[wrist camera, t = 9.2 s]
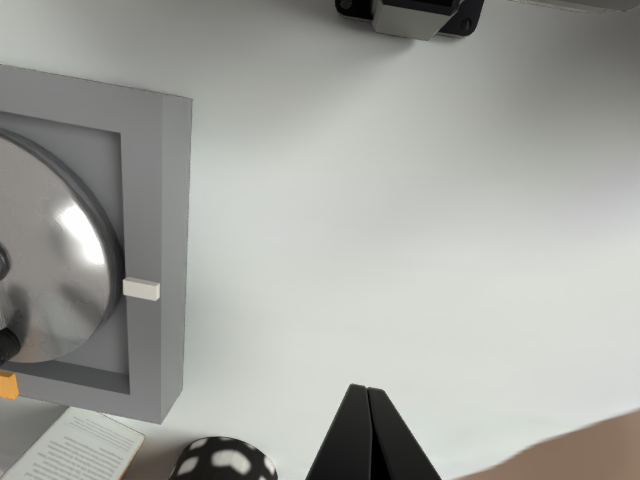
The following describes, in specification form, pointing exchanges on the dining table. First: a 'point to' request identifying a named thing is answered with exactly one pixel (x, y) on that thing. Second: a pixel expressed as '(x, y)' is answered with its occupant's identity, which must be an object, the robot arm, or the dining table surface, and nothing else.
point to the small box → (78, 449)
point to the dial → (51, 255)
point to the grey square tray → (130, 228)
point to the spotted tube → (222, 461)
